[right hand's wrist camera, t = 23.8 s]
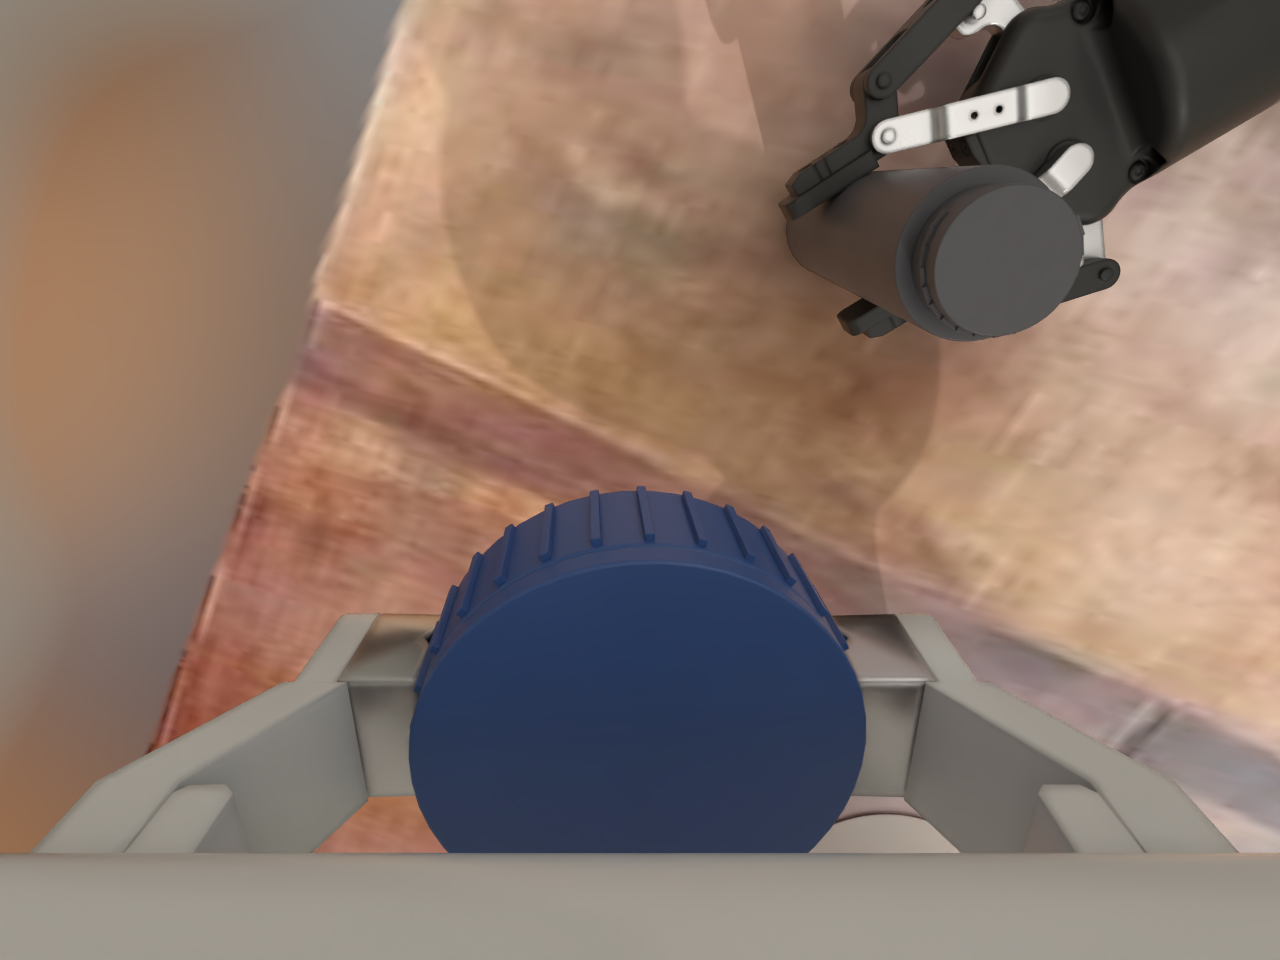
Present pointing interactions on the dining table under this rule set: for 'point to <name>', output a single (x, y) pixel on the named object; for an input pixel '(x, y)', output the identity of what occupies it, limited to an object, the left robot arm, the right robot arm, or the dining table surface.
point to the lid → (635, 689)
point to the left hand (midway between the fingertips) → (817, 270)
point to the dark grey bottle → (947, 247)
